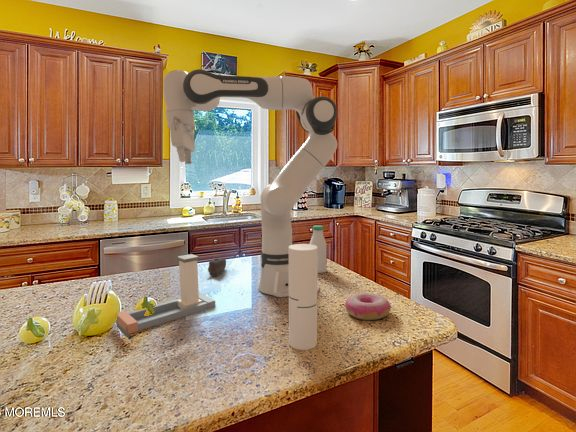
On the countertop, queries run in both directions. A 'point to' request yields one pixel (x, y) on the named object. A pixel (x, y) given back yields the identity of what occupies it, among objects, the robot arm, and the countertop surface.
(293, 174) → the robot arm
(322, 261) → the milk bottle
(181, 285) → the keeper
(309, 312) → the cylindrical container
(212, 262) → the perforated stone tool
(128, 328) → the rail
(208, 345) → the countertop surface
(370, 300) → the donut
